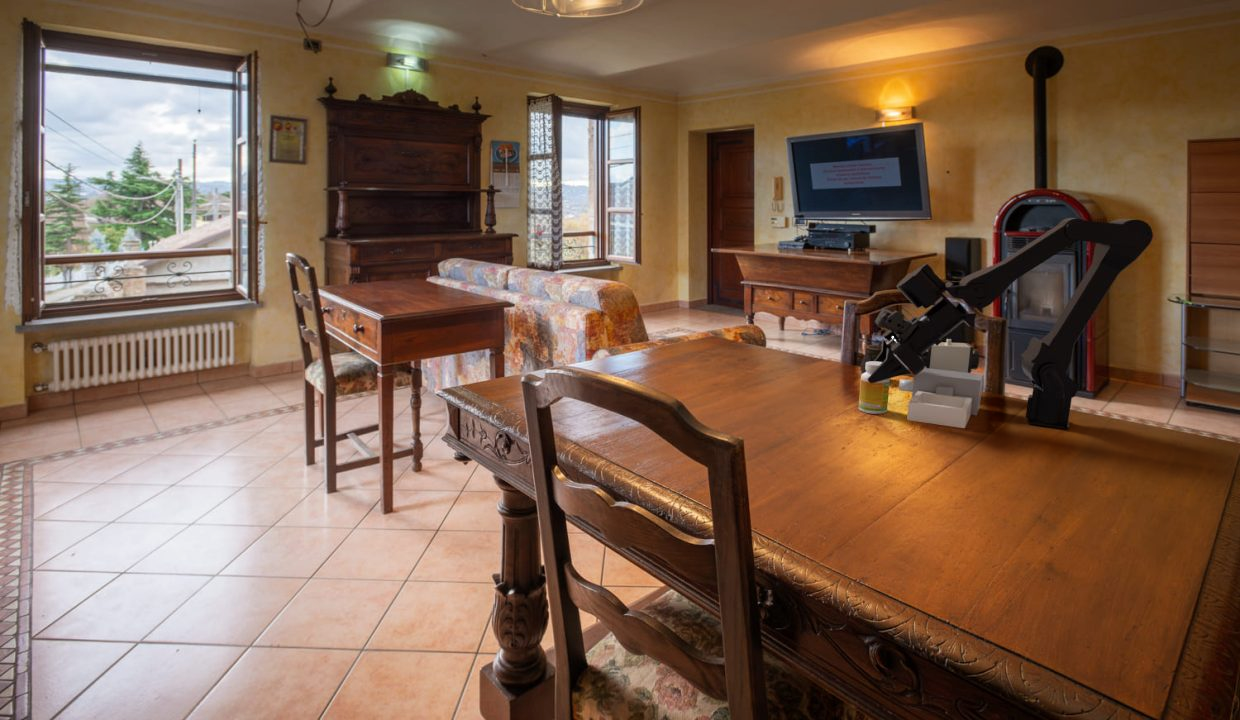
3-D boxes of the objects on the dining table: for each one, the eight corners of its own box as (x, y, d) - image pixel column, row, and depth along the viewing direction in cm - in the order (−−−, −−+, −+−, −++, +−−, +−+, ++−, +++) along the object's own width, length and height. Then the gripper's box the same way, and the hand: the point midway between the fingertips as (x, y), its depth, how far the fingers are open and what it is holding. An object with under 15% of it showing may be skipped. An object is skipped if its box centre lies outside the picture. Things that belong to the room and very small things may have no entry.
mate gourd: (887, 376, 169) (890, 336, 167) (897, 384, 161) (900, 341, 159) (856, 376, 169) (859, 335, 167) (865, 384, 162) (868, 341, 160)
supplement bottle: (886, 415, 137) (891, 367, 135) (857, 412, 139) (861, 364, 137) (887, 408, 142) (891, 361, 140) (859, 405, 144) (862, 359, 142)
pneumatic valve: (975, 397, 150) (981, 342, 148) (917, 394, 153) (922, 340, 150) (968, 391, 156) (974, 337, 153) (912, 387, 158) (917, 335, 156)
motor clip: (979, 408, 142) (983, 374, 141) (970, 429, 128) (974, 392, 127) (901, 397, 150) (904, 365, 148) (885, 416, 136) (888, 381, 135)
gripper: (897, 289, 143) (837, 340, 148) (910, 301, 125) (842, 358, 131) (935, 329, 143) (874, 378, 148) (953, 346, 125) (883, 401, 130)
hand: (867, 378), depth 139 cm, fingers closed on supplement bottle, 5 cm apart
